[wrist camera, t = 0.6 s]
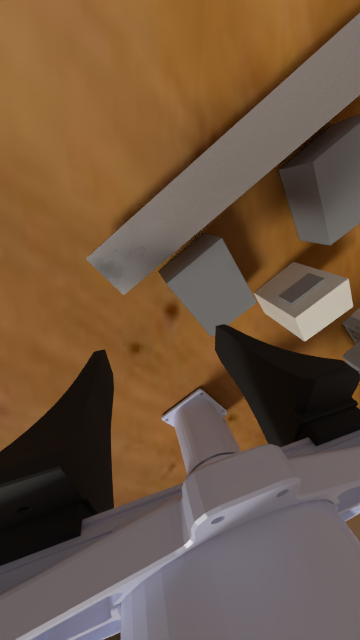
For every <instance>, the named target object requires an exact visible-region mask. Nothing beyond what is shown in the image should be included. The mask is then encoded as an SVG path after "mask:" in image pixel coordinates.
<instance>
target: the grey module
mask: <svg viewBox="0 0 360 640" xmlns="http://www.w3.org/2000/svg"><path fill="white" fill-rule="evenodd" d="M254 294H255V296H256V298H257V300H258V302H259V304H260V305H261V307H262V309H263V311H264V313H265V314H267V315H268V316H269V317H271V318H272V319H274V320H275V321H276V322H278V323H279V324H281V325H282V326H283V327H285V328H286V329H288V330H289V331H291V332H292V333H293V334H295V335H296V336H298V337H299V338H300V339H302V340H303V341H307V340H308V339H309V338H311V337H312V336H314V335H315V334H316V333H318V332H319V331H320V330H322V329H323V328H325V327H326V326H327V325H329V324H330V323H331V322H333V321H334V320H336V319H337V318H338V317H340V316H341V315H342V314H344V313H345V312H347V311H348V310H349V309H351V308H352V307H353V302H352V296H351V290H350V285H349V279H348V278H345V277H342V276H339V275H335V274H332V273H329V272H325V271H322V270H319V269H315V268H312V267H309V266H306V265H302V264H299V263H296V262H292V263H291V264H290V265H289V266H287V267H286V268H285V269H283V270H282V271H281V272H280V273H278V274H277V275H276V276H274V277H273V278H272V279H271V280H269V281H268V282H267V283H266V284H264V285H263V286H262V287H260V288H259V289H258V290H257V291H255V292H254Z"/></svg>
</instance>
